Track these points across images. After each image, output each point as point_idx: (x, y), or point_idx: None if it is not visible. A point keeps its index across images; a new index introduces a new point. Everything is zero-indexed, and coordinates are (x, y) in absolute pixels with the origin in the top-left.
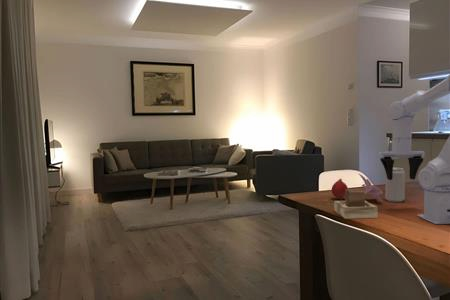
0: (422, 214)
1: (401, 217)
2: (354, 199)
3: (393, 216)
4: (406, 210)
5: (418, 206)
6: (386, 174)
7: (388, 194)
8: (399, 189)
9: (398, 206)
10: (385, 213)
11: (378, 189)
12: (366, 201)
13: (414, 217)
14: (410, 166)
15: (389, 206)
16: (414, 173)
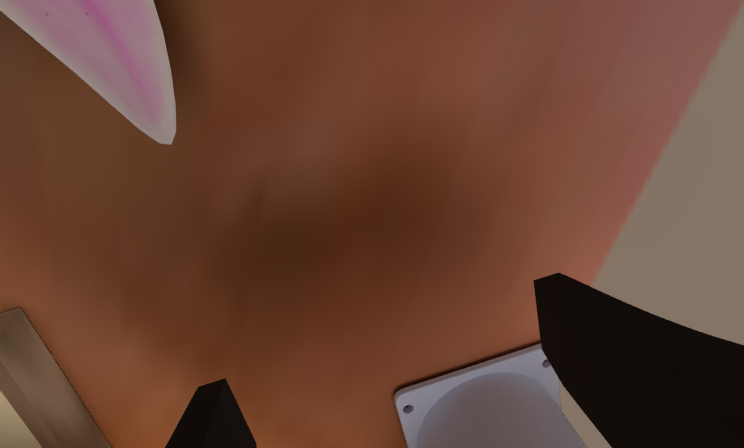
0: (426, 391)
1: (288, 433)
2: None
3: None
4: (367, 248)
5: (508, 86)
6: (171, 440)
7: None
8: None
9: (337, 115)
10: (195, 367)
11: (111, 78)
12: (9, 408)
13: (368, 413)
14: (664, 402)
15: (255, 128)
16: (598, 423)
